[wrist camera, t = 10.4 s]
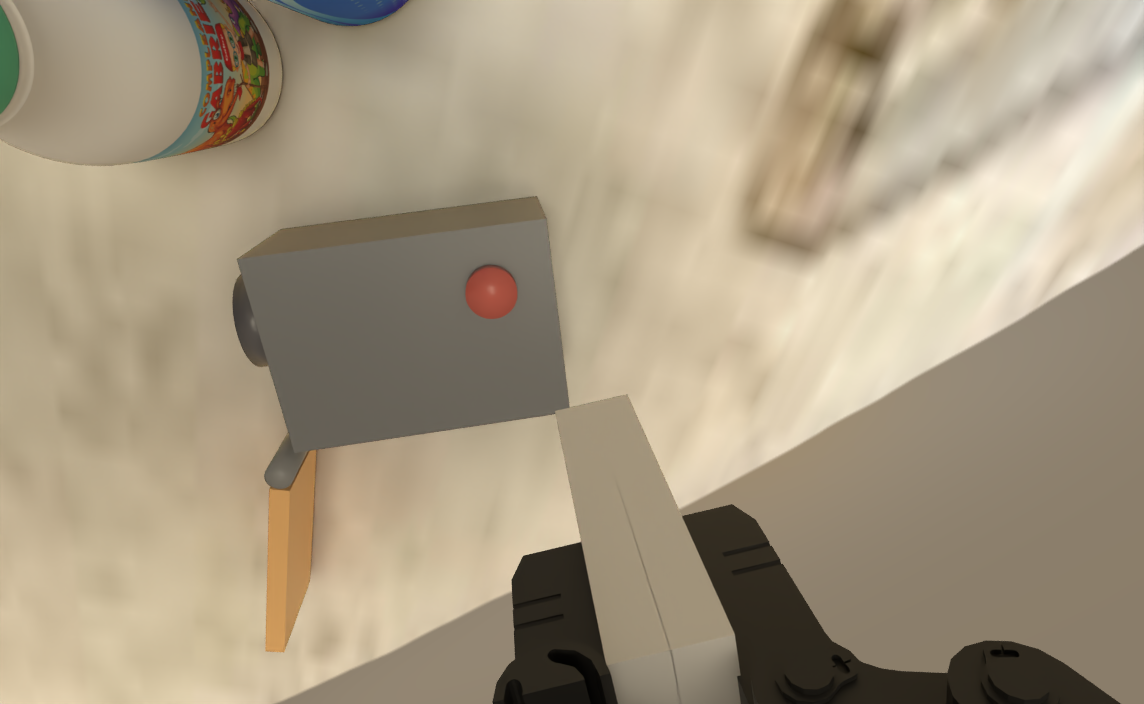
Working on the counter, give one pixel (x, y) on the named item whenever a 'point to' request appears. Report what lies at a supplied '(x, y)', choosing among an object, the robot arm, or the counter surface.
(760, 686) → the robot arm
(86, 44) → the milk bottle
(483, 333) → the camera body
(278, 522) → the side door
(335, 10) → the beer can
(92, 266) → the counter surface
